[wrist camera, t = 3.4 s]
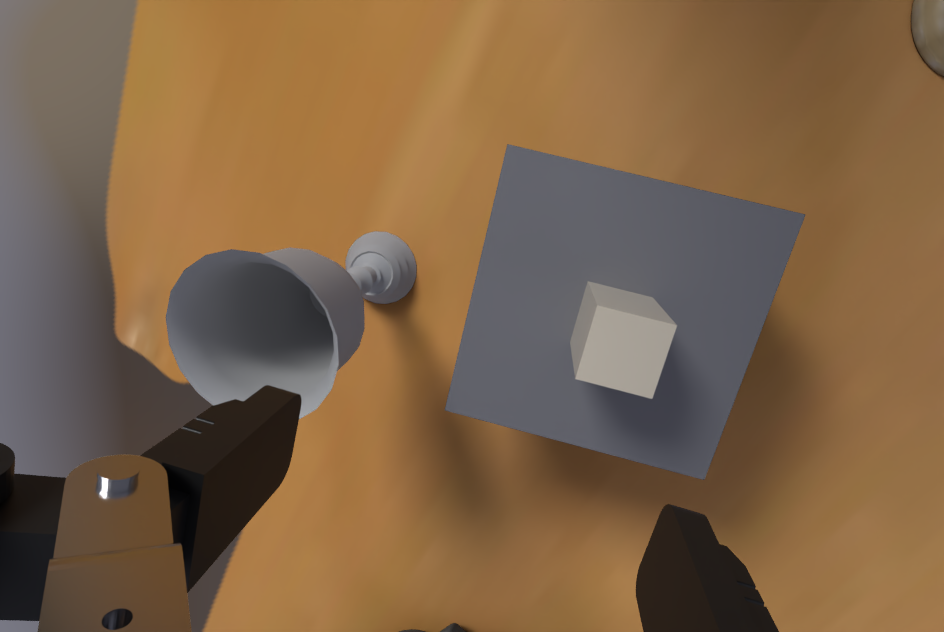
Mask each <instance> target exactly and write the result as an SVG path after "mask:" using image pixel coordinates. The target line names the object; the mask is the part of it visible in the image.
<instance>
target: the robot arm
mask: <svg viewBox="0 0 944 632" xmlns="http://www.w3.org/2000/svg"><path fill="white" fill-rule="evenodd" d="M301 403H302V399H301V395H300V394H297V393H293V392H290V391H287V390H283V389H280V388H276V387H273V386H270V385H265V386H264V387H262V388H261V389H260V390H258V391H257V392H256V393H254V394H253V395H251V396H250V397H249V398H247V399H246V400H245V401H240V400H237V399H234V400H231V401H227V402H224V403H220V404H217V405H214V406H212V407H210V408H209V409H207V410H206V411H204V412H203V413H201V414H200V415H198V416H197V417H196V419H193V420H191V421H190V422H188V423H187V424H185V425H184V426H183V428H182V429H181V428H180V429H178V430H177V431H175V432H174V433H172V434H171V435H170V436H168V437H167V438H165V439H164V440H162V441H161V442H160V443H158V444H157V445H155V446H153V447H152V448H151V449H149V450H148V451H146V452H145V453H143V454H142V455H140V456H136V455H112V456H111V455H110V456H105V457H100V458H96V459H93V460H90V461H87V462H85V463H83V464H81V465H79V466H78V467H76V468H75V469H74V470H72V471H71V472H70V473H69V475H68V476H67V478H60V477H48V476H36V475H24V474H14V467H15V455H14V452H13V451H12V450H11V449H10V448H9V447H8V446H6V445H4V444H1V443H0V620H25V621H39V626H38V632H191V624H190V614H189V606H188V597H187V593H188V592H189V591H190V589H191V588H192V587H193V586H194V585H195V584H196V582H197V581H198V580H199V579H200V578H201V577H202V575H203V574H204V573H205V572H206V571H207V570H208V568H209V567H210V566H211V565H212V564H213V563H214V562H215V560H216V559H217V558H218V557H219V555H220V554H221V553H222V552H223V551H224V550H225V549H226V548H227V546H228V545H229V544H230V543H231V542H232V541H233V539H234V538H235V537H236V536H237V535H238V534H239V532H240V531H241V530H242V529H243V528H244V527H245V526H246V524H247V523H248V522H249V521H250V520H251V519H252V517H253V516H254V515H255V514H256V513H257V512H258V510H259V509H260V508H261V507H262V506H263V505H264V503H265V502H266V501H267V500H268V499H269V498H270V496H271V495H272V494H273V493H274V492H275V491H276V490H277V488H278V487H279V486H280V484H281V483H282V481H283V479H284V477H285V475H286V473H287V471H288V468H289V465H290V462H291V457H292V452H293V447H294V442H295V436H296V431H297V426H298V420H299V415H300V410H301ZM755 587H756V586H755V584H754V582H753V580H752V578H751V576H750V574H749V572H748V570H747V568H746V566H745V565H744V564H743V563H742V562H741V561H740V560H739V559H738V558H737V557H736V556H735V555H734V554H733V553H732V551H731V550H730V549H729V548H728V547H727V546H724V545H720V544H719V543H718V540H717V538H716V536H715V534H714V532H713V530H712V528H711V526H710V523H709V521H708V519H707V517H706V516H705V515H703V514H700V513H697V512H694V511H690V510H687V509H683V508H680V507H677V506H673V505H670V504H667V505H666V506H665V507H664V508H663V509H662V511H661V513H660V515H659V518H658V520H657V523H656V526H655V528H654V531H653V533H652V536H651V538H650V541H649V543H648V546H647V548H646V551H645V553H644V556H643V559H642V561H641V564H640V566H639V570H638V574H637V580H636V598H637V603H638V608H639V612H640V617H641V622H642V626H643V631H644V632H779V631H778V629H777V627H776V625H775V623H774V621H773V619H772V617H771V615H770V613H769V611H768V609H767V607H764V602H763V600H762V598H761V596H760V594H759V592H758V590H755Z"/></svg>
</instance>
